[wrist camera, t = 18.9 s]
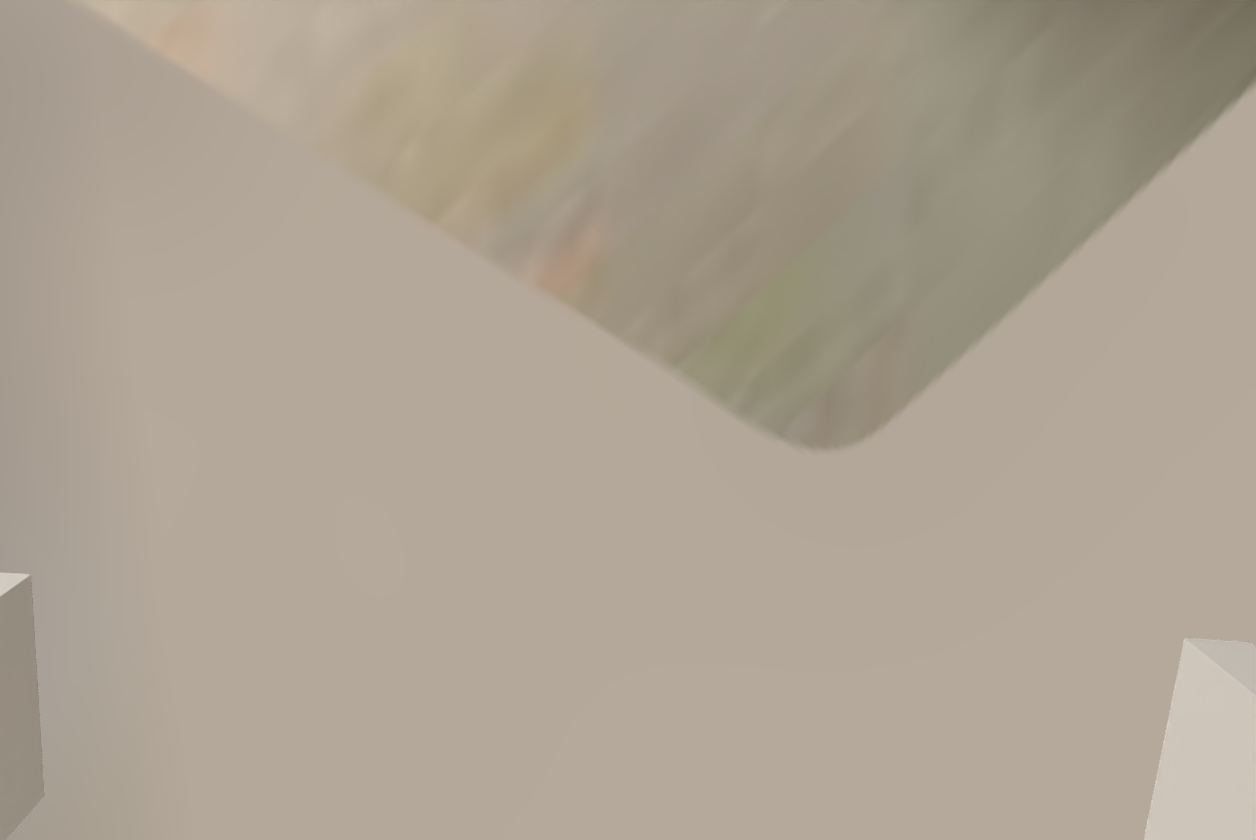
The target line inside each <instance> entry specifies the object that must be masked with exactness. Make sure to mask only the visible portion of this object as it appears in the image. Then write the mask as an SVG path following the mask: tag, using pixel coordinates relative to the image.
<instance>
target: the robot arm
mask: <svg viewBox="0 0 1256 840" xmlns="http://www.w3.org/2000/svg"><path fill="white" fill-rule="evenodd" d="M37 682H38V681H37V665H36V649H35V631H34V616H33V598H32V582H31V574H14V573H0V840H6V839H7V837H8V836H9V835H10V834H11V833H12V832H13V831H14V830H15V828H16V827H17V826H18V825H19V824H20V823H21V822H22V820H23V819H24V818H25V817H26V816H27V815H28V814H29V812H30V811H31V810H32V809H33V808H34V807H35V806H36V805H37V803H38V802H39V801H40V800H41V799H42V798H43V797H44V781H43V765H42V748H41V732H40V714H39V698H38V683H37ZM1144 840H1256V646H1254V645H1253V644H1252V643H1250V642H1247V641H1230V640H1211V639H1193V638H1185V639H1184V643H1183V648H1182V654H1181V658H1180V663H1179V669H1178V673H1177V678H1176V683H1175V688H1174V693H1173V698H1172V703H1171V708H1170V713H1169V719H1168V723H1167V728H1166V733H1165V738H1164V743H1163V747H1162V752H1161V757H1160V762H1159V767H1158V772H1157V777H1156V782H1155V787H1154V792H1153V797H1152V802H1151V807H1150V812H1149V817H1148V822H1147V827H1146V832H1145V837H1144Z"/></svg>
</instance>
